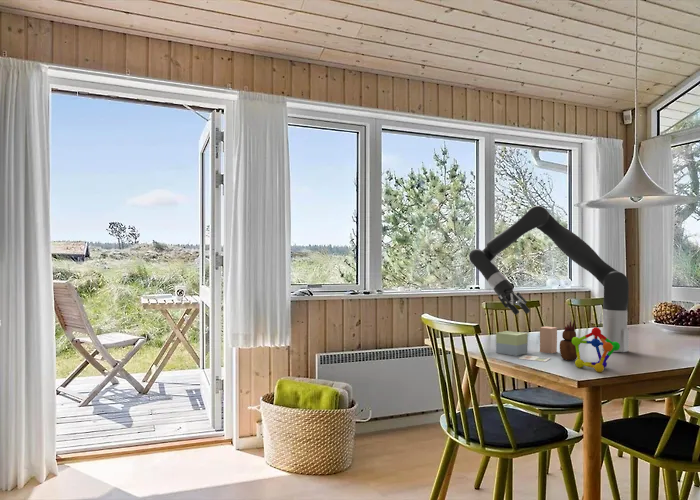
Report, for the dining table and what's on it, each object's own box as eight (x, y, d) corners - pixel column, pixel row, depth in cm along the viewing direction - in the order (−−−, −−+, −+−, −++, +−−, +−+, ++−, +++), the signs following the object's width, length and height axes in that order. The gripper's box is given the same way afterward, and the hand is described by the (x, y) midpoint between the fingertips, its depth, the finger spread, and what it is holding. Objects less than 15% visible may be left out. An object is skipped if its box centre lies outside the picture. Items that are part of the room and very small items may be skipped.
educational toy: (623, 372, 195) (628, 330, 194) (606, 377, 187) (611, 333, 186) (580, 361, 207) (585, 321, 206) (563, 365, 198) (567, 324, 197)
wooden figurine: (578, 359, 213) (578, 320, 213) (579, 361, 208) (579, 321, 208) (559, 357, 215) (559, 319, 215) (559, 360, 210) (560, 320, 210)
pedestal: (527, 353, 225) (527, 333, 225) (516, 355, 218) (517, 335, 218) (506, 350, 231) (507, 330, 231) (496, 352, 224) (496, 332, 224)
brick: (556, 351, 229) (557, 327, 229) (551, 353, 225) (551, 328, 225) (545, 350, 232) (545, 326, 232) (539, 351, 228) (540, 327, 228)
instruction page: (550, 358, 213) (550, 357, 213) (545, 361, 206) (545, 361, 206) (524, 355, 219) (524, 354, 219) (518, 358, 212) (518, 357, 212)
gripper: (496, 279, 239) (519, 308, 231) (514, 278, 249) (537, 306, 240) (485, 290, 243) (508, 319, 234) (504, 289, 253) (526, 317, 244)
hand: (523, 313), depth 237 cm, fingers open, 8 cm apart
